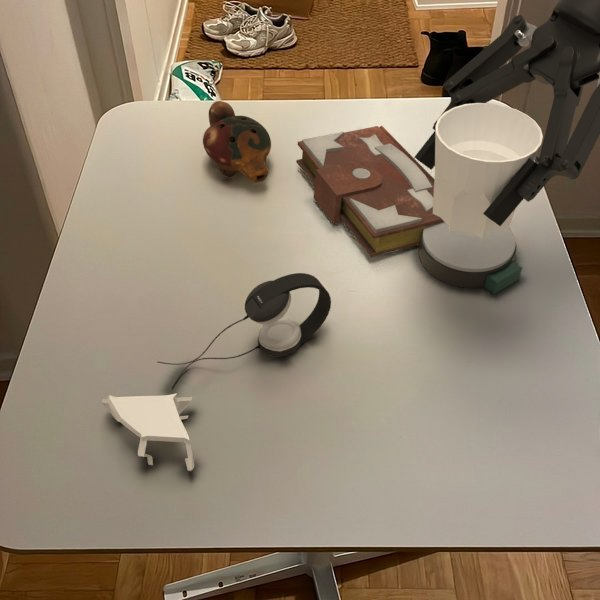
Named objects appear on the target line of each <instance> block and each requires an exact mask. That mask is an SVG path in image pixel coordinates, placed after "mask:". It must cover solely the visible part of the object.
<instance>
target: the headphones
mask: <svg viewBox="0 0 600 600" xmlns="http://www.w3.org/2000/svg"><path fill="white" fill-rule="evenodd" d="M305 288H311V289H316V290H318V297H317V302H316V304H315V306H314V307H313V309H312V311H311V312H310V314H309V315H308V316H307V317H306V318H305V320H303V321H302V323H300V324H299V323H298V322H297V321H295V320H293V319H290V318H283V317H284V316H285V315H286V314H287V312H288V310H289V309H290V306H291V304H292V295H291V292H292V291H296V290H299V289H305ZM331 305H332V299H331V295H330V292H329V291H328V290H327V288H325V286H324V285H323V284H322V283H321V281H320V280H319V279H318V278H317V277H316V276H314V275H312V274H311V273H310V274H309V273H304V272H296V273H290V274H287V275H282V276H280V277H278V278H276V279H274V280H267V281H264V282H261V283H259V284H258V285H256V286H255V287H254V288H253V289H252V290H251V291H250V292H249V294H248V295H247V297H246V299H245V302H244V310H245V314H246V316H245V315H244V317H243V318H241V319H239V320H237V321H235V322H233V323H231V324H230V325H228V326H227V327H225V328H224V329H223V330H221V331H220V332H219V333H218V334H217V335H216V336H215V337H214V338H213V340H212V341H211V342H210V343H209V345H208V346H207V347H206V348H205V350H204V351H202V353H201V354H200V355H199V356H198V357H196V358H195V359H193V360H191V361H188V362H181V363H170V362H163V361H157V363H159V364H162V365H163V364H164V365H170V366H171V365H172V366H178V365H179V366H180V365H187V366H186V367H184V369H183V370H182V371H181V373H180V374H179V375H178V377H177V378H176V379H175V382H174V383H173V385H172V386H171V388H172V389H173V388H174V387H175V385H176V383H177V382H178V380H179V378H180V377H181V376H182V375H183V373H184V372H185V371H186V369H187V368H189V367H190V366H191V365H192V364H194V363H195V362H198V361H202V360H229V359H235V358H239V357H242V356H245V355H247V354H250V353H251V352H253V351H255V350H258V349H259V350H260V351H261V352H262V353H263V354H265V355H267V356H269V357H274V358H275V357H276V358H277V357H279V358H281V357H285V356H288V355H290V354H292V353H294V352H296V351H297V350H298V348H299V347H300V345H302V344H303V343H304V342H306V341H307V340H309V339H310V338H311V337H312V336H313V335H314V334H316V333H317V331H319V329H320V328H321V327H322V325H324V323H325V321H326V320H327V318H328V316H329V314H330V311H331V307H332V306H331ZM247 319H250V320H251V321H252V322H255V323H257V324H259V325H261V327H260V329H259V332H258V336H257V346H255V347H254V348H252V349H250V350H248V351H246V352H244V353H241V354H239V355H234V356H230V357H229V356H228V357H202V356H203V355H204V354H206V351H208V349H210V347H211V346H212V345H213V343H214V342H215V341H216V340H217V338H219V337H220V335H221V334H223V333H224V332H225V331H227V330H228V329H229V328H231V327H233V326H234V325H237V324H238V323H240V322H244V321H246V320H247ZM201 357H202V358H201Z"/></svg>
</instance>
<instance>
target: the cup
mask: <svg viewBox="0 0 600 600" xmlns="http://www.w3.org/2000/svg"><path fill="white" fill-rule="evenodd" d="M440 116H441V115H440ZM440 116H439V117H440ZM439 117H438V118H439ZM438 118H437V119H438ZM436 121H437V120H436ZM434 131H435V166H434V179H435V180H434V198H433V214H435V215H437V216H439V217H440V218H441V219H442V220H443V221H444V222H445V223H446V224H447V225H448V226H449V230H450V232H454V231H460V232H465V233H470V234H474V235H476V236H478V237H480V238H483V237H484V236H485V235H486V234H488V233H490V232H493V231H496V230H499V229H509V227H510V226H511V224H512V220H513V217H514V214H515V211H516V209H515V210H514V211H513V212H512V213H511V214H510V216H509V217H508V218H507V219H506V220H505V221H504V223H503V224H502V225H501V226H499V225H497V224H496V223H495V222H493V221H492V220H490V219H489V218H488V217H487V216H485V215H484V214H483V213H484V212H485V211H486V209H487V208H488V207H489V206H490V205H491V203H492V202H493V201H494V200H495V199H496V197H497V196H498V195H499V194H500V193H501V192H502V190H503V189H504V188H505V187H506V186H507V184H508V183H509V182H510V181H511V180H512V178H513V177H514V176H515V175H516V174H517V172H518V171H519V170H520V169H521V168H522V166H523V165H524V164H525V163H526V162H527V160H528V159H529V158H530V159H532V160H533V161H534V162H536V157H538V153H539V151H540V149H541V147H542V144H543V139H544V135H543V132H542V128H541V127H540V126H539V124H538V123H537V121H536V120H534V119H533V118H532V117H530V116H529V115H528V114H527V113H524V112H522V111H520V110H518V109H517V108H513V107H511V106H507V105H503V104H497V103H491V102H487V103H472V104H464V105H461V106H457V107H454V108H452V109H450V110H448V111H446V112H445V113H444V114H443V115H442V116H441V117H440V118H439V119H438V121H437V123H436V130H434Z"/></svg>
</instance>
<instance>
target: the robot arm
mask: <svg viewBox="0 0 600 600" xmlns="http://www.w3.org/2000/svg"><path fill="white" fill-rule="evenodd" d="M529 45H530V47H528V46H529ZM527 47H528V48H527ZM523 48H526V49H524V50H523V51H521V50H522V49H523ZM520 51H521V52H520ZM510 60H511V61H510ZM508 61H509V62H508ZM534 81H537V82H540V83H541V84H543V85H548V86H549V87H550V88H551V89H552V91H553V100H552V104H551V109H550V113H549V116H548V120H547V125H546V130H545V133H544V136H543V140H542V144H541V148H540V149H541V150H540V153H539V156H536V158H535V161H533V160H532V159H530V158H529V159H528V160H527V162H526V163H525V164H524V165H523V166H522V168H521V169H520V170H519V171H518V172H517V174H516V175H515V176H514V177H513V178H512V180H511V181H510V182H509V183H508V184H507V186H506V187H505V188H504V189H503V190H502V192H501V193H500V194H499V195H498V196H497V197H496V199H495V200H494V201H493V202H492V203H491V205H490V206H489V207H488V208H487V209H486V211H485V212H484V213H483V214H484V215H485V216H487V217H488V218H489V219H490V220H492V221H493V222H495V223H496V224H497V225H499V226H501V225H502V224H503V223H504V221H505V220H506V219H507V218H508V217H509V216H510V214H511V213H512V212H513V211H514V210H515V211H516V209H517V208H518V206H520V204H521V203H522V201H524V200H525V201H526V202H528V203H529V202H531V201H532V200H534V199H535V198H536V196H537V195H538V194H539V193H540V192H541V191H542V190H543V188H544V187H545V186H546V184H548V182H549V181H550V180H551V179H552V178H553V177H556V176H560V177H565V178H568V179H569V180H576V179H578V178H579V177H580V175H581V173H582V171H583V169H584V167H585V165H586V164H587V161H588V159H589V157H590V155H591V153H592V151H593V149H594V147H595V145H596V143H597V141H598V138H599V137H600V0H557V2H556V3H555V5H554V7H553V10H552V13H551V15H550V17H549V18H548V19H547V20H546V21H545V22H543V23H541V24H540V25H539V26H536V25H534V24H532V23H530V22H528V21H527V19H526V18H525V17H524V16H523V15H522V14H518V15H515V16H514V17H513V18H512V20H511V21H510V22H509V24H508V25H507V27H505V29H504V30H503V32H502V33H501V34H500V35H499V36H497V38H495V39H494V40H493V41H492V42H490V43H489V44H488V45H487V46H486V47H485V48H484V49H482V50H481V51H480V52H479V53H478V54H476V56H474V57H473V58H472V59H470V61H468V62H467V63H466V64H465V65H463V66H462V67H461V68H460V69H459V70H458V71H456V72H455V73H454V74H453V75H452V76H451V77H449V78H447V80H446V81H445V82H444V90H446V91H447V93H448V95H449V97H450V102H449V104H448V105H447V106H446V108H445V109H444V110H443V111H442V113H441V114H440V116H439V117H438V118H437V119H436V121H435V122H434V123H433V126H432V130H433V133H432V134H431V135H430V136H429V137H428V138H427V140H426V141H425V142H424V144H423V145H422V146H421V148H420V149H419V150H418V151H417V153H416V154H415V155H414V159H415V160H416V161H417V162H419V163H421V164H422V165H423V166H425V167H426V168H427V169H428V170H431V171H432V170H433V169H434V168H435V130H436V123H437V121H438V119H439V118H440V117H441V116H442V115H443V114H444V113H445V112H446V111H448V110H450V109H452V108H454V107H457V106H461V105H464V104H472V103H489V102H490V101H492V100H494V99H496V98H497V97H499V96H502V95H504V94H506V93H507V92H509V91H511V90H512V89H514V88H516V87H518V86H520V85H522V84H524V83H525V84H526V83H527V84H528V83H531V82H534ZM595 81H596V84H595V87H596V88H595V89H594V90H593V92H592V94H591V96H590V97H589V100H588V102H587V104H586V106H585V108H584V110H583V112H582V114H581V115H580V118H579V120H578V122H577V124H576V126H575V128H574V130H573V132H572V134H571V136H570V133H571V129H572V125H573V121H574V117H575V113H576V109H577V107H579V105H580V102H581V97H582V95H583V90H584V86H586V85H588V84H591V83H593V82H595ZM515 211H514V212H515Z"/></svg>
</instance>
